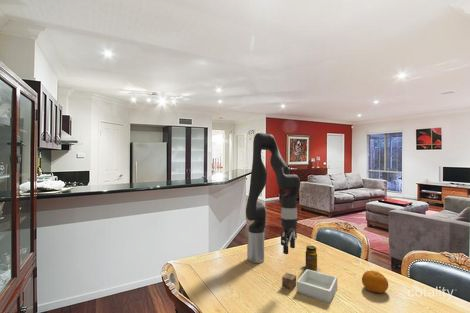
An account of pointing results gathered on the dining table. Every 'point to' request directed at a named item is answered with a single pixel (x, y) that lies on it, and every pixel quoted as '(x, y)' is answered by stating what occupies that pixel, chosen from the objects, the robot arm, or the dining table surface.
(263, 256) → the robot arm
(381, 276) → the fruit
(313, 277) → the tub
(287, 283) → the walnut cube
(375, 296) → the dining table surface
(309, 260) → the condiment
